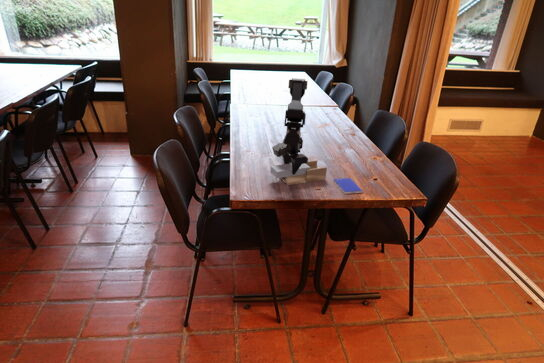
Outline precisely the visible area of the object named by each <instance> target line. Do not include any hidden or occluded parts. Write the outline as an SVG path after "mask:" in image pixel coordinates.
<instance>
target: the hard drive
mask: <svg viewBox="0 0 544 363" xmlns="http://www.w3.org/2000/svg"><path fill="white" fill-rule="evenodd" d="M333 182H334V183H335V185H336V186H337V187H338V188H339V189H340V191H341V192H342V193H344V195H346V194H347V195H348V194H363V192H364V191H363V190H362V189H361V187H359V186H358V184H357V183H355V181H354V180H352V179H351V178H350V177H345V178H334V179H333Z"/></svg>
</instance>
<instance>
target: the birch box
mask: <svg viewBox="0 0 544 363" xmlns="http://www.w3.org/2000/svg"><path fill="white" fill-rule="evenodd" d="M305 164H307V165H308V166H309V167H310V169H308V170H306V174H302V175H296V176H289V177H282V178H280V179H281V180H282V181H283V182H284V183H285V184H286V185H287V186H292V184H293V185H298V183H299V184H306V183H311V182H317V181H318V182H319V181H324V180H326V179H327V172H328V171H327V169H328V168H327V166H324V167H320V166H319V165H318V160H317V159H315V160H308V163H305Z"/></svg>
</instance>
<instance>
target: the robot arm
mask: <svg viewBox="0 0 544 363" xmlns="http://www.w3.org/2000/svg"><path fill="white" fill-rule="evenodd" d="M288 89H289V94H290V96H291V102H290V103H289V104H288V105H287V109H285V117H284V123H283V124H284V127H286V131H285V132H286V133H285V135H284V138H283V140H282V142H278V143H277V144H275V145H272V148H271V149H272V152H273V155H275V156H276V157H278V158H280V157H282V161H283V164H290V163H292V174H293V175H295V173H296V172H297V170H298V169H299V167H300V166H301V165H302V164H305V163H308V161H309V158H308V156H307V155H305V154H304V153H301V149H303V144H304V140H303V136H301V135H302V133H301V128H304V126H305V125H306V116H307V115H306V113H305V110H304V105H303V104H302V98H303V97H304V96H305V93H306V90H307V89H308V80H306V79H305V78H297V77H296V78H295V77H294V78H293V77H291V79H288Z"/></svg>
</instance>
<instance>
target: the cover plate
mask: <svg viewBox="0 0 544 363" xmlns="http://www.w3.org/2000/svg"><path fill="white" fill-rule="evenodd" d="M308 169H310V167H309V166H308V165H307V164H302V165H301V166H300V167H299V169H298V170H297V172H296V173H295V175H293V174H292V163H291V162H290V163H289V164H284V163H283V164H276V165H270V173H271V175H273V176H274V177H275V178H276V179H281V178H282V177H289V176H296V175H302V174H306V170H308Z"/></svg>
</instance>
